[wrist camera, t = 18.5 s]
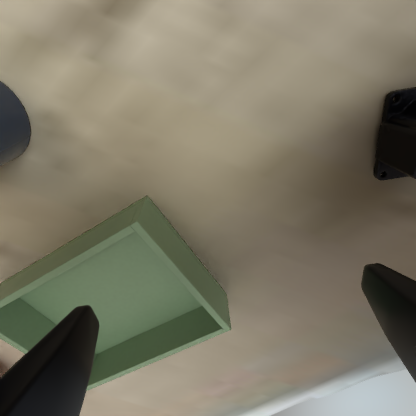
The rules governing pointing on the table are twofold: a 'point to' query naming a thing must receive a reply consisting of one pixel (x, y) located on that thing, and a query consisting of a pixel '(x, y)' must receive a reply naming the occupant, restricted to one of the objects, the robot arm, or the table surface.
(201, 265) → the bin
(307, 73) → the table surface
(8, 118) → the bottle
